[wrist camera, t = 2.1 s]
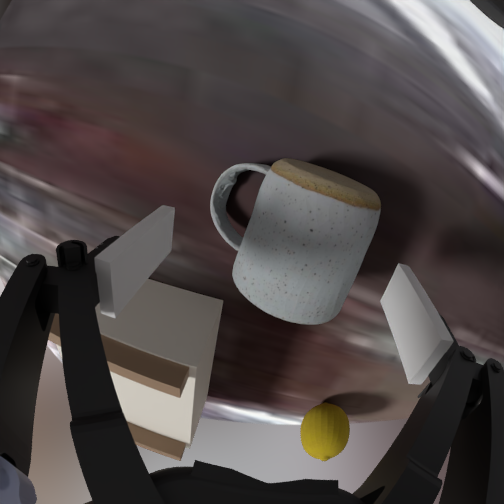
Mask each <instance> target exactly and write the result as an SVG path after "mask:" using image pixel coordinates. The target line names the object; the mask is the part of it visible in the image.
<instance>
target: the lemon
mask: <svg viewBox="0 0 504 504" xmlns="http://www.w3.org/2000/svg"><path fill="white" fill-rule="evenodd" d="M349 431H350V428H349V420H348V417H347V415H346V414H345V412H344V411H343V410H342V409H341V408H340V407H338V406H336V405H334V404H328V403H326V402H325V403H323V404H320V405H318V406H315V407H313V408H312V409H311V410H310V411H309V412H308V413H307V414H306V415H305V417H304V419H303V421H302V424H301V441H302V445H303V447H304V449H305V451H306V452H307V453H308V454H309V455H310V456H312V457H314V458H317V459H320V460H322V461H327V460H328V459H330V458H332V457H335V456H336V455H338V454H339V453H340V452H341V451H342V450H343V449H344V448H345V446H346V444H347V442H348V438H349Z"/></svg>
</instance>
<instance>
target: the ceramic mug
mask: <svg viewBox="0 0 504 504" xmlns="http://www.w3.org/2000/svg"><path fill="white" fill-rule="evenodd" d="M247 170H254V171H259V172H260V173H264V174H266V176H265V178H264V181H263V183H262V185H261V187H260V190H259V193H258V196H257V199H256V203H255V206H254V210H253V213H252V216H251V218H250V221H249V224H248V226H247V229H246V232H245V235H244V237H243V238H242V237H241V236H240V235H239V234H238V233H237V232H236V231H235V229H234V228H233V227H232V226H231V224H230V222H229V220H228V216H227V214H226V203H227V199H228V197H229V194H230V191H231V189H232V187H233V185H234V184H235V183H236V181H237V176H238V175H239V174H240V173H241V172H244V171H247ZM210 209H211V215H212V219H213V222H214V224H215V226H216V228H217V230H218V231H219V233H220V234H221V236H222V237H223V238H224V239H225V240H226V242H227V243H229V244H230V245H231V246H232V247H233V248H234V249H235V250H237V251H238V254H237V257H236V260H235V263H234V266H233V273H232V275H233V279H234V282H235V284H236V286H237V288H238V289H239V291H240V292H241V293H242V294H243V295H244V296H245V297H246V298H247V299H248V300H249V301H250V302H251V303H253V304H254V305H255V306H257V307H258V308H260V309H261V310H263V311H264V312H266V313H268V314H271V315H273V316H275V317H277V318H280V319H282V320H285V321H289V322H293V323H299V324H321V323H325V322H328V321H330V320H331V319H333V318H334V317H335V316H336V315H337V314H338V313H339V312H340V310H341V308H342V305H343V303H344V301H345V299H346V297H347V294H348V292H349V290H350V288H351V286H352V284H353V282H354V280H355V278H356V275H357V273H358V271H359V269H360V266H361V264H362V261H363V259H364V256H365V254H366V251H367V249H368V247H369V245H370V243H371V240H372V238H373V236H374V233H375V230H376V228H377V225H378V220H379V216H380V211H381V202H380V199H379V197H378V195H377V194H376V193H375V192H374V191H373V190H372V189H370V188H368V187H367V186H365V185H363V184H361V183H359V182H357V181H355V180H353V179H350V178H348V177H346V176H344V175H341V174H339V173H336V172H334V171H331V170H329V169H326V168H323V167H320V166H317V165H314V164H311V163H307V162H303V161H300V160H295V159H289V158H283V159H281V160H278V161H276V162H275V163H273V165H272V166H271V167H270V166H269V165H264V164H255V163H243V164H237V165H234V166H232V167H231V168H229V169H227V170H226V171H225V172H224V173H222V174H221V176H220V177H219V179H218V180H217V182H216V184H215V186H214V189H213V192H212V196H211V202H210Z"/></svg>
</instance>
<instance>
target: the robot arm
mask: <svg viewBox="0 0 504 504" xmlns="http://www.w3.org/2000/svg"><path fill="white" fill-rule="evenodd" d="M471 1H472V2H473V3H474V4H475V5H476V6H477V7H478V8H479V9H480V10H481V11H483V12H484V13H485V14H486V15H487V16H488V17H490V18H491V19H492V20H493V21H495V22H496V23H497V24H499V25H500V26H501V27H503V28H504V0H471ZM174 213H175V208H174V207H169V206H164V205H162V206H161V207H159V208H158V209H157V210H155V211H154V212H153V213H151V214H150V215H148V216H147V217H146V218H144V219H143V220H142V221H140V222H139V223H138V224H136V225H135V226H134V227H132V228H131V229H130V230H128V231H127V232H126V233H125V234H123V235H122V236H121V237H119V236H114V237H111V238H108V239H107V240H105V241H104V242H103V243H101V245H99V246H97V247H96V248H95V249H94V250H92V251H91V252H90V253H88V254H87V245H86V244H85V243H84V242H82V241H79V240H69V241H65V242H63V243H61V244H59V245H58V246H57V248H56V253H57V260H58V266H59V267H55V266H47V264H46V259H45V257H44V256H42V255H40V254H31V255H28V256H26V257H24V258H23V259H22V260H21V261H20V262H19V264H18V266H17V267H16V269H15V271H14V273H13V274H12V276H11V278H10V280H9V281H8V283H7V285H6V287H5V289H4V291H3V292H2V294H1V296H0V504H35V503H36V500H37V497H36V494H35V489H34V486H33V484H32V482H31V481H30V479H29V478H28V474H29V468H30V462H31V450H32V433H33V423H34V413H35V405H36V398H37V391H38V385H39V379H40V374H41V369H42V364H43V359H44V354H45V350H46V346H47V342H48V338H49V334H50V330H51V326H52V323H53V319H54V316H55V313H56V314H59V328H60V341H61V352H62V361H63V368H64V376H65V383H66V389H67V394H68V400H69V405H70V410H71V415H72V421H71V422H70V429H71V434H72V438H73V442H74V446H75V449H76V453H77V456H78V460H79V463H80V466H81V469H82V472H83V476H84V478H85V481H86V484H87V487H88V490H89V492H90V495H91V497H92V501H90V502H87V503H85V504H433V503H434V501H435V499H436V497H437V495H438V493H439V491H440V489H441V486H442V480H440V479H439V478H437V477H438V474H439V472H440V470H441V468H442V466H443V463H444V461H445V459H446V457H447V454H448V452H449V449H450V447H451V450H450V456H449V462H448V467H447V473H446V477H445V481H444V486H443V490H442V494H441V498H440V502H439V504H504V370H503V367H502V366H501V364H500V363H499V362H498V361H496V360H495V359H492V358H490V359H488V360H487V361H486V362H485V364H484V365H481V364H478V363H476V358H475V356H474V355H473V353H472V352H471V351H470V350H469V349H467V348H465V347H462V346H459V345H458V343H457V341H456V340H455V338H454V336H453V334H452V332H450V329H449V327H448V326H447V323H446V322H445V320H444V318H443V317H442V316H441V315H440V314H439V313H438V312H437V310H436V309H435V307H434V305H433V303H432V302H431V300H430V299H429V297H428V295H427V294H426V292H425V290H424V289H423V287H422V286H421V284H420V282H419V281H418V279H417V278H416V276H415V275H414V273H413V272H412V270H411V269H410V267H409V266H407V265H403V264H400V263H398V265H397V267H396V269H395V272H394V274H393V276H392V278H391V280H390V282H389V284H388V287H387V289H386V291H385V293H384V295H383V297H382V299H381V301H380V302H381V304H382V307H383V310H384V312H385V315H386V318H387V320H388V323H389V326H390V328H391V331H392V334H393V337H394V340H395V343H396V345H397V348H398V351H399V354H400V357H401V360H402V364H403V367H404V370H405V373H406V376H407V380H408V383H409V384H422V383H423V381H424V380H425V379H426V378H427V377H428V375H429V378H430V381H431V382H430V383H429V384H428V385H427V386H426V388H425V389H424V390H423V391H422V392H421V393H420V394H419V395H418V398H420V399H419V401H418V403H417V405H416V407H415V408H414V410H413V412H412V414H411V415H410V417H409V419H408V420H407V422H406V424H405V425H404V427H403V428H402V430H401V432H400V433H399V435H398V436H397V438H396V439H395V441H394V442H393V444H392V445H391V447H390V448H389V450H388V451H387V453H386V454H385V456H384V457H383V458H382V460H381V461H380V462H379V464H378V465H377V466H376V468H375V469H374V470H373V472H372V473H371V474H370V476H369V477H368V478H367V479H366V481H365V482H364V483H363V485H361V487H360V488H359V489H357V490H356V491H355V492H354V493H353V494H351V493H349V492H347V491H345V490H342V489H339V488H338V480H312V479H303V480H296V481H289V482H280V483H265V482H263V481H260V480H257V479H255V478H252V477H250V476H247V475H245V474H242V473H240V472H238V471H235V470H233V469H230V468H225V467H221V466H217V465H212V464H208V463H204V462H200V461H197V460H195V462H194V466H193V467H173V468H166V469H162V470H158V471H155V472H153V473H150V474H149V473H148V471H147V469H146V466H145V464H144V462H143V460H142V458H141V456H140V453H139V451H138V448H137V446H136V444H135V441H134V439H133V436H132V434H131V431H130V429H129V426H128V423H127V421H126V418H125V416H124V413H123V411H122V408H121V405H120V402H119V399H118V396H117V393H116V390H115V387H114V383H113V380H112V377H111V373H110V370H109V366H108V362H107V359H106V355H105V351H104V347H103V343H102V338H101V334H100V330H99V325H98V320H97V315H96V310H95V307H96V306H97V305H98V304H100V310H101V313H102V314H104V315H107V316H110V317H112V318H115V319H116V317H117V316H118V315H119V314H120V312H121V311H122V310H123V309H124V307H125V306H126V305H127V304H128V302H129V301H130V300H131V299H132V297H133V296H134V295H135V294H136V292H137V291H138V290H139V289H140V287H141V286H142V285H143V284H144V283H145V281H146V280H147V279H148V278H149V277H150V275H151V274H152V273H153V272H154V271H155V269H156V268H157V267H158V266H159V265H160V264H161V262H162V261H163V260H164V259H165V258H166V256H167V255H168V254H169V253H170V252H171V247H172V234H173V223H174ZM479 403H480V404H479Z"/></svg>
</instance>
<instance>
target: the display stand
mask: <svg viewBox="0 0 504 504" xmlns="http://www.w3.org/2000/svg"><path fill="white" fill-rule="evenodd" d="M223 301H224V300H220V299H216V298H213V297H209V296H205V295H202V294H198V293H195V292H191V291H188V290H184V289H181V288H177V287H174V286H171V285H167V284H164V283H161V282H157V281H154V280H151V279H147V280H146V281H145V283H144V284H143V285H142V286H141V287H140V289H139V290H138V291H137V292H136V294H135V295H134V296H133V297H132V299H131V300H130V301H129V302H128V304H127V305H126V306H125V307H124V309H123V310H122V311H121V312H120V314H119V315H118V316H117V317H116V319H115V318H112V317H110V316H107V315H104V314H102V313H101V310H100V304H98V305H97V306H96V307H95V310H96V315H97V320H98V325H99V330H100V334H101V338H102V343H103V347H104V351H105V355H106V359H107V362H108V366H109V370H110V373H111V377H112V380H113V383H114V387H115V390H116V393H117V396H118V399H119V402H120V405H121V408H122V411H123V413H124V416H125V418H126V421H127V423H128V426H129V429H130V431H131V434H132V436H133V439H134V441H135V444H136V445H138V446H140V447H143V448H145V449H148V450H151V451H153V452H156V453H159V454H162V455H164V456H167V457H170V458H173V459H176V460H179V461H181V458H182V455H183V452H184V449H185V447H186V448H190V446H191V443H192V440H193V438H194V434H195V431H196V428H197V425H198V423H199V419H200V417H201V414H202V411H203V408H204V405H205V402H206V399H207V395H208V389H209V383H210V376H211V370H212V364H213V358H214V352H215V347H216V341H217V335H218V329H219V323H220V318H221V312H222V306H223ZM48 340H50V341H52V342H53V343H55V344H56V345H57V348H58V350H59V353H60V356H61V358H62V352H61V341H60V328H59V314H56V313H55V316H54V319H53V323H52V326H51V330H50V334H49V338H48Z"/></svg>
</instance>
